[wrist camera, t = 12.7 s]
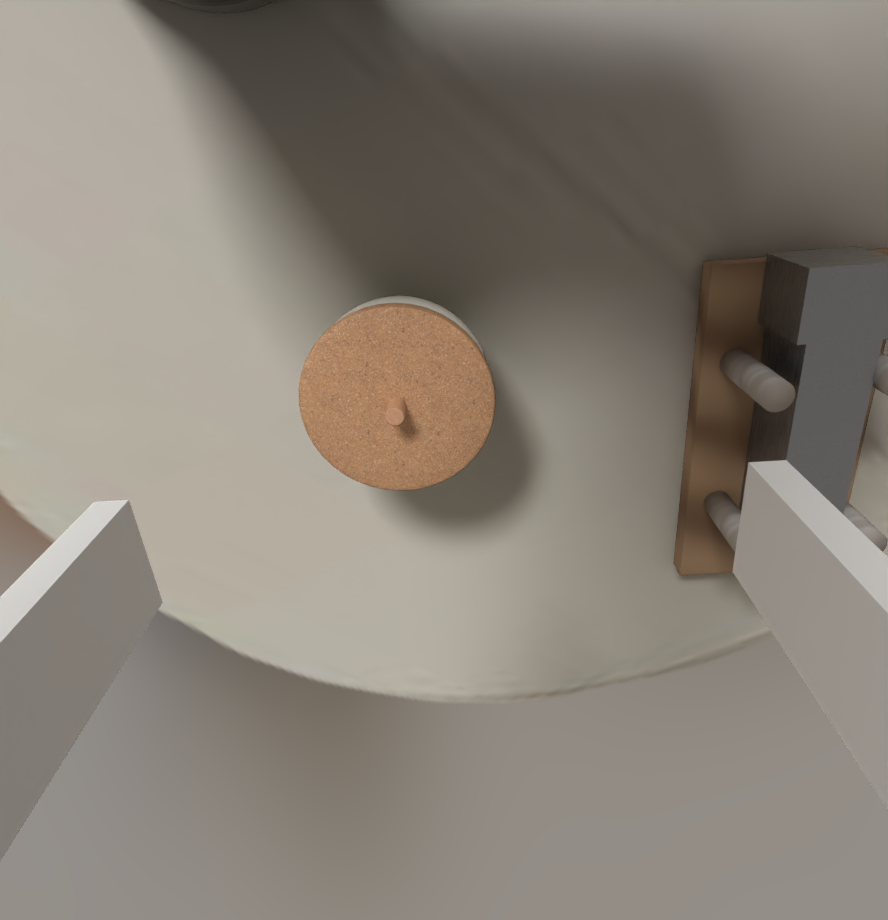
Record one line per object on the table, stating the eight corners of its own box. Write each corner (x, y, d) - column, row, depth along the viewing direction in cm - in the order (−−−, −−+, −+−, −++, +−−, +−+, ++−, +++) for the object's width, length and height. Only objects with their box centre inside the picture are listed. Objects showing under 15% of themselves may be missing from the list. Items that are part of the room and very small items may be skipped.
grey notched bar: (766, 253, 38) (809, 268, 33) (855, 246, 37) (910, 260, 33) (726, 544, 46) (756, 587, 42) (798, 540, 46) (835, 583, 42)
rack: (703, 261, 39) (755, 286, 32) (890, 247, 39) (982, 270, 32) (673, 563, 49) (709, 630, 42) (823, 555, 48) (883, 621, 42)
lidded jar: (408, 466, 46) (398, 540, 37) (289, 361, 42) (249, 416, 34) (523, 362, 42) (540, 417, 34) (402, 239, 39) (389, 266, 30)
